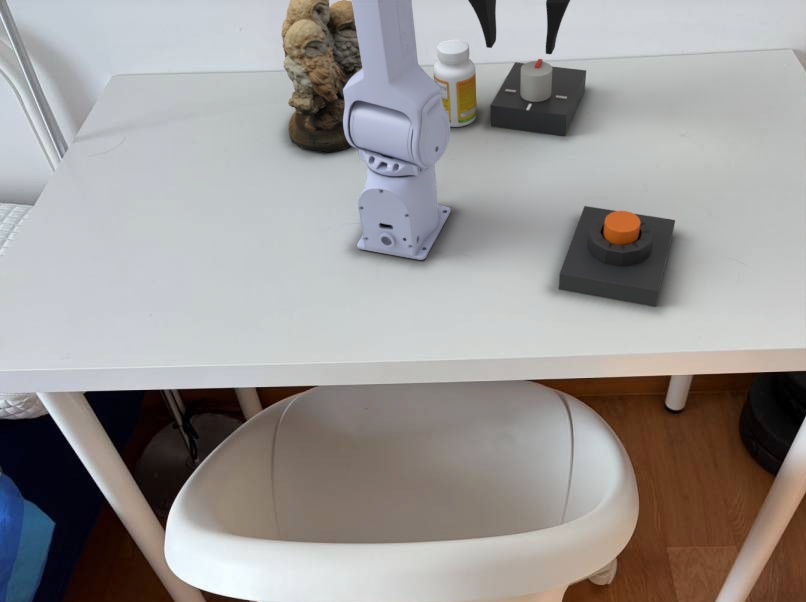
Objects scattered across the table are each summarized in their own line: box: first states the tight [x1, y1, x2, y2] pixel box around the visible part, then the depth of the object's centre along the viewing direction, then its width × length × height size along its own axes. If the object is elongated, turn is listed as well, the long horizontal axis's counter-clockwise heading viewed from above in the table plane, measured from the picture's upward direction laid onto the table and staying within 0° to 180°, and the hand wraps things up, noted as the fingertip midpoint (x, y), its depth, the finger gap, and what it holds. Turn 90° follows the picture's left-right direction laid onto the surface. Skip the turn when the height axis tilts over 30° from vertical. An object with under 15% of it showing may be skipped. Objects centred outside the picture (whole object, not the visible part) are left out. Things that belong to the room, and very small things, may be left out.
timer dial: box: [520, 58, 552, 102], centre depth 101 cm, size 4×4×4 cm
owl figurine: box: [280, 0, 362, 153], centre depth 99 cm, size 18×12×17 cm, turn 161°
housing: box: [558, 205, 676, 308], centre depth 83 cm, size 12×10×4 cm
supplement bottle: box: [432, 38, 478, 128], centre depth 102 cm, size 5×5×10 cm
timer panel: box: [489, 61, 587, 137], centre depth 105 cm, size 12×10×3 cm
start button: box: [603, 210, 640, 245], centre depth 81 cm, size 4×4×2 cm
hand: (520, 47), depth 99 cm, fingers open, 7 cm apart
